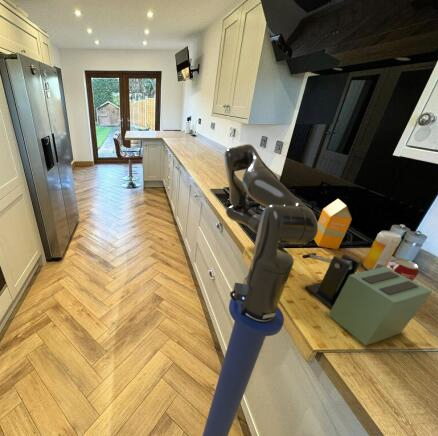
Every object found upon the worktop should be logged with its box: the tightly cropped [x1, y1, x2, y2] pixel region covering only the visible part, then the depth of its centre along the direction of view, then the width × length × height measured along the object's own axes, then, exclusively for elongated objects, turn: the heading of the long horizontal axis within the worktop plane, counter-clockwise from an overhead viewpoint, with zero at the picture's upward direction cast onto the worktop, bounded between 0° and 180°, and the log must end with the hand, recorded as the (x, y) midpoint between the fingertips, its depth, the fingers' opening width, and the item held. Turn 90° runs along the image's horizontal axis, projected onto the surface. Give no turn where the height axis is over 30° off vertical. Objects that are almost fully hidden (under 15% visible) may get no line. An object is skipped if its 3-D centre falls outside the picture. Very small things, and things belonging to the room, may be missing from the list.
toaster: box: [328, 267, 433, 347], centre depth 63 cm, size 10×14×15 cm
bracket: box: [305, 253, 362, 310], centre depth 72 cm, size 10×8×15 cm
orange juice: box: [313, 198, 353, 250], centre depth 102 cm, size 8×9×20 cm
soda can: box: [386, 257, 419, 281], centre depth 76 cm, size 7×7×12 cm
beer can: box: [362, 230, 402, 271], centre depth 87 cm, size 6×6×15 cm
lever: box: [301, 252, 352, 270], centre depth 74 cm, size 13×5×2 cm, turn 17°
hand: (292, 246), depth 86 cm, fingers open, 8 cm apart
